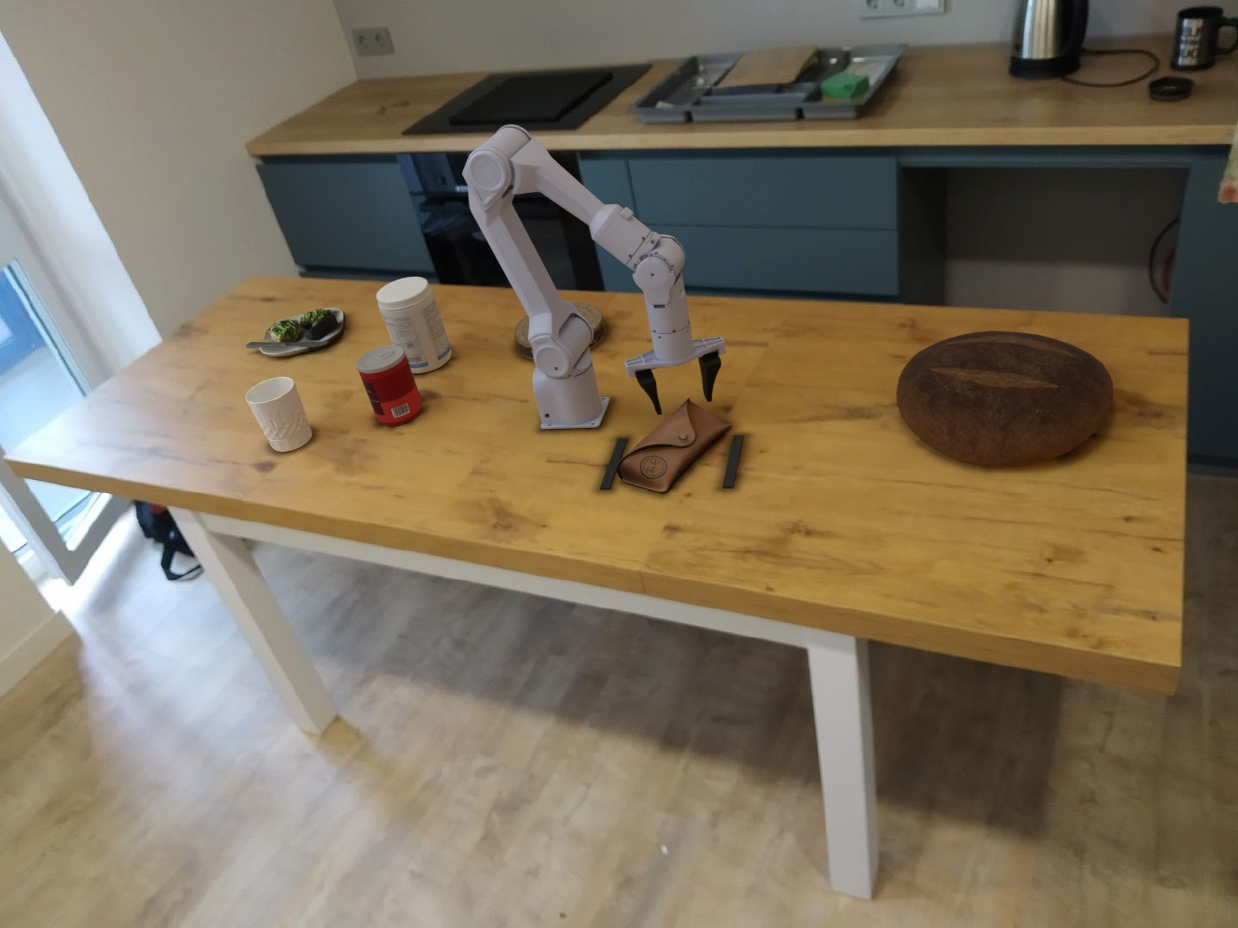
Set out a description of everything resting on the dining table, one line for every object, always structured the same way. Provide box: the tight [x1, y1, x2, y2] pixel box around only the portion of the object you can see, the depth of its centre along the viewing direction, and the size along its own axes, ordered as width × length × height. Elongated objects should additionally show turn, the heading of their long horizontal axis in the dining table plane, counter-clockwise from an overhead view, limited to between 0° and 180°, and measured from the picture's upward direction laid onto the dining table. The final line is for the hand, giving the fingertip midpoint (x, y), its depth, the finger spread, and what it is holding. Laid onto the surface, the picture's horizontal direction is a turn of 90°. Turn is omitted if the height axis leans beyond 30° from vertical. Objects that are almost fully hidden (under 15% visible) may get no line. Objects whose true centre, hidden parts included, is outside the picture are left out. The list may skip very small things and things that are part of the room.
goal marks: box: [599, 434, 744, 490], centre depth 139 cm, size 19×12×1 cm, turn 78°
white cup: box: [244, 376, 313, 453], centre depth 161 cm, size 8×8×10 cm
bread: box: [896, 330, 1114, 467], centre depth 133 cm, size 28×27×9 cm
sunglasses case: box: [616, 397, 733, 493], centre depth 140 cm, size 18×7×7 cm
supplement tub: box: [375, 276, 453, 374], centre depth 174 cm, size 10×10×15 cm
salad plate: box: [245, 306, 346, 357], centre depth 194 cm, size 19×18×5 cm
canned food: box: [356, 344, 423, 427], centre depth 161 cm, size 8×8×11 cm
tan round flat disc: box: [513, 301, 606, 361], centre depth 175 cm, size 16×16×3 cm
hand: (683, 405), depth 146 cm, fingers open, 7 cm apart
